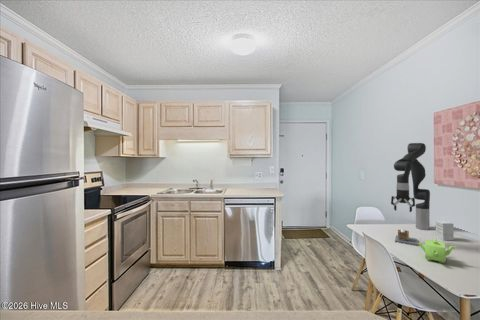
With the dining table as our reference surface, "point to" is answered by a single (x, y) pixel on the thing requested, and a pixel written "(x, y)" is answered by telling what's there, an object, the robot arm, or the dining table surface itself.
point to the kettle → (435, 250)
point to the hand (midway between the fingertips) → (402, 211)
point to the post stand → (406, 240)
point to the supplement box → (444, 230)
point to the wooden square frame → (403, 234)
